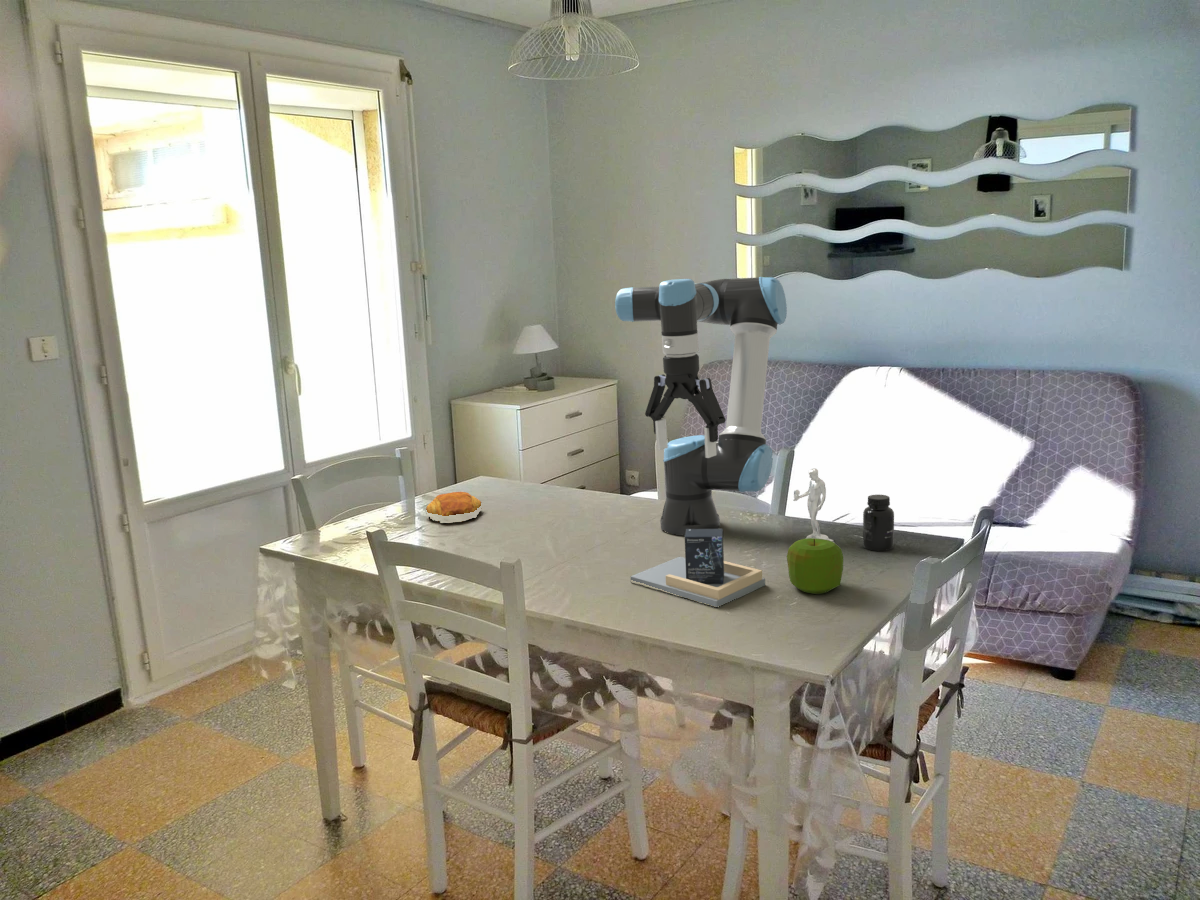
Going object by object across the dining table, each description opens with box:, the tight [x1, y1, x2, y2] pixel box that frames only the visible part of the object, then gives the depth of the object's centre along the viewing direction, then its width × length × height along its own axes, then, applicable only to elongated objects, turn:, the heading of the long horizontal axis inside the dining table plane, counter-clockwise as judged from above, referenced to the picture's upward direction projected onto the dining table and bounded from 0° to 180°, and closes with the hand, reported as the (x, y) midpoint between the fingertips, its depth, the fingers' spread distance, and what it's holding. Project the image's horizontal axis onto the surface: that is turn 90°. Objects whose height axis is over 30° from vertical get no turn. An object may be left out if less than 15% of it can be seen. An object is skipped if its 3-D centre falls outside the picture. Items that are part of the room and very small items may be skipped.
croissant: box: [425, 491, 482, 516], centre depth 266 cm, size 14×16×8 cm
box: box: [684, 528, 725, 584], centre depth 201 cm, size 8×6×11 cm
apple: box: [786, 538, 844, 595], centre depth 196 cm, size 11×11×11 cm
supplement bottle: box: [862, 494, 895, 552], centre depth 218 cm, size 7×7×12 cm
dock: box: [630, 556, 766, 608], centre depth 203 cm, size 24×16×4 cm, turn 44°
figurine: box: [792, 468, 836, 544], centre depth 224 cm, size 8×7×18 cm
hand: (686, 452), depth 204 cm, fingers open, 13 cm apart
